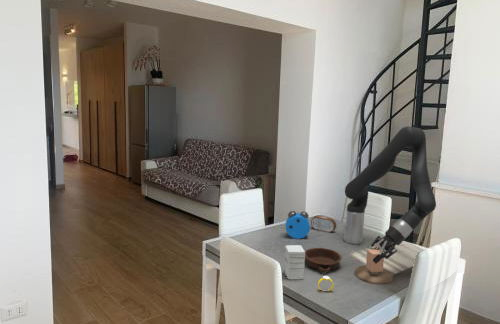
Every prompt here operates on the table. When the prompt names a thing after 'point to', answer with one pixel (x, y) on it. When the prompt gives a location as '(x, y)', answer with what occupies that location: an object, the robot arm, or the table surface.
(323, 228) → the copper desk clock
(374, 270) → the salmon pink block
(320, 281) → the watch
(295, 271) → the supplement box
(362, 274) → the post stand
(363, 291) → the table surface
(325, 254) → the dish
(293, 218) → the alarm clock
